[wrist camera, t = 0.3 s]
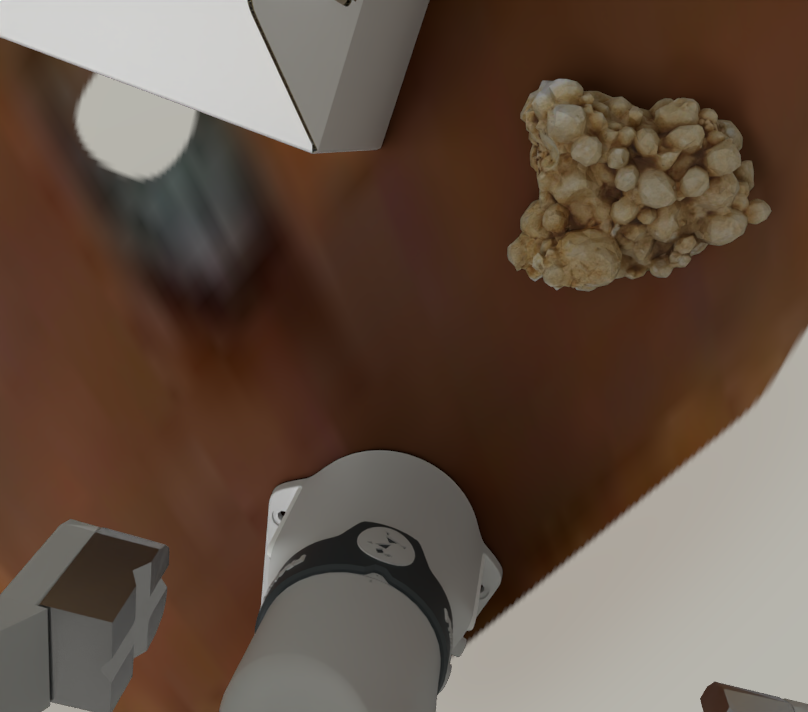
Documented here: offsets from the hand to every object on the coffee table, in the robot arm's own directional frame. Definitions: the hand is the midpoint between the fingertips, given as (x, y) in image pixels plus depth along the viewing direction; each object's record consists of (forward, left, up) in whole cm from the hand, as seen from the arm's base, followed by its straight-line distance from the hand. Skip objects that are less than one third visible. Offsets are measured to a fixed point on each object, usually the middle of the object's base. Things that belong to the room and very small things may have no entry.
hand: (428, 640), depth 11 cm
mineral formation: (+6, -7, -42) cm, 43 cm away
